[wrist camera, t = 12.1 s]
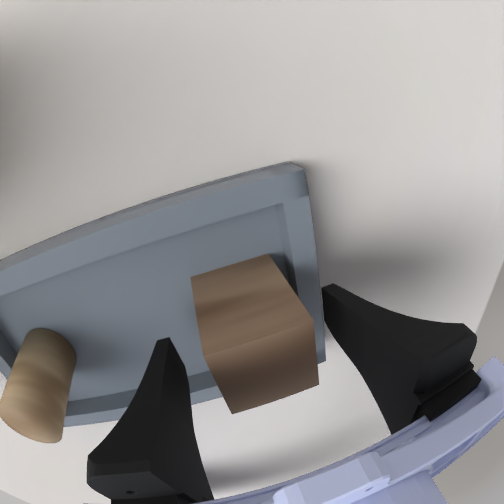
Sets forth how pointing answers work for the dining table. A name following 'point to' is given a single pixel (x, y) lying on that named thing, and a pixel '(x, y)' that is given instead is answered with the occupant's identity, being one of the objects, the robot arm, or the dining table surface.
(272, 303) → the walnut block
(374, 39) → the dining table surface
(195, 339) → the parts tray
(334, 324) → the robot arm
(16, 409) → the oak peg
